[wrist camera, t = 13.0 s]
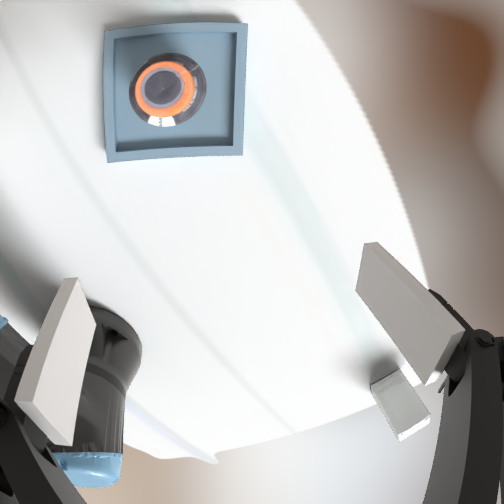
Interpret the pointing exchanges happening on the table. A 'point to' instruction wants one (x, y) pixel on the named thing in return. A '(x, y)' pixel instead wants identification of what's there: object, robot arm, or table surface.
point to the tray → (212, 109)
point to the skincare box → (400, 405)
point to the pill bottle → (167, 89)
